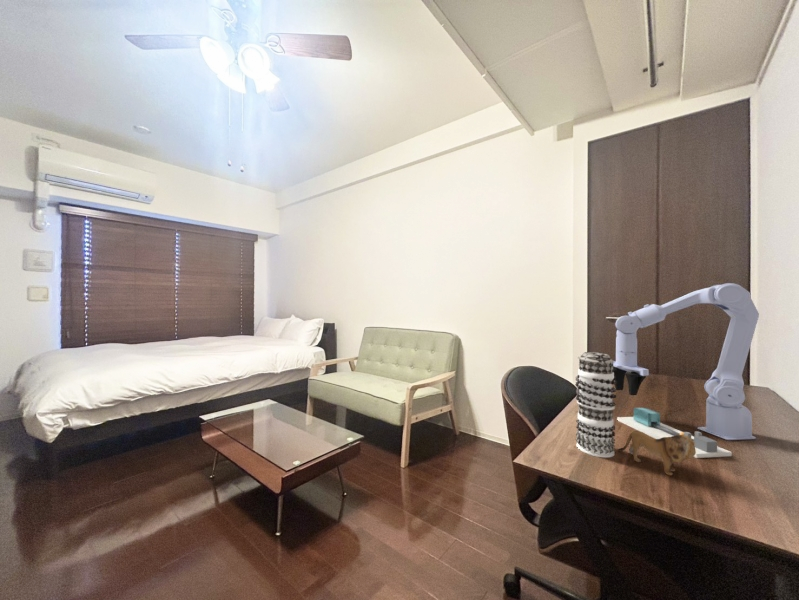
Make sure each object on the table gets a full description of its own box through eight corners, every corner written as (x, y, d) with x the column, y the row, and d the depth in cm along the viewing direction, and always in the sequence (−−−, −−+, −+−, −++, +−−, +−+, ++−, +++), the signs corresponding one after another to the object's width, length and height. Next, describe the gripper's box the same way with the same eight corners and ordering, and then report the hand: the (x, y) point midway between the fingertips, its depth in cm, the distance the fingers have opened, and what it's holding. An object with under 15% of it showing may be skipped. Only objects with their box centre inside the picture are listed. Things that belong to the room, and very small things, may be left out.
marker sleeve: (644, 419, 98) (645, 407, 98) (659, 425, 93) (660, 413, 93) (633, 419, 97) (633, 407, 97) (648, 426, 92) (648, 413, 92)
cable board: (644, 419, 101) (644, 407, 101) (731, 456, 77) (731, 440, 77) (617, 420, 100) (617, 408, 100) (696, 458, 76) (696, 441, 76)
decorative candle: (621, 450, 79) (622, 354, 79) (609, 462, 73) (610, 358, 73) (582, 438, 86) (583, 349, 86) (569, 448, 80) (569, 352, 80)
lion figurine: (699, 476, 68) (699, 435, 68) (691, 484, 65) (691, 441, 65) (622, 449, 80) (622, 414, 80) (613, 454, 77) (613, 419, 77)
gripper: (598, 348, 109) (598, 386, 109) (634, 355, 95) (634, 399, 95) (616, 348, 110) (616, 386, 110) (655, 355, 96) (654, 399, 95)
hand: (626, 392), depth 102 cm, fingers open, 5 cm apart
